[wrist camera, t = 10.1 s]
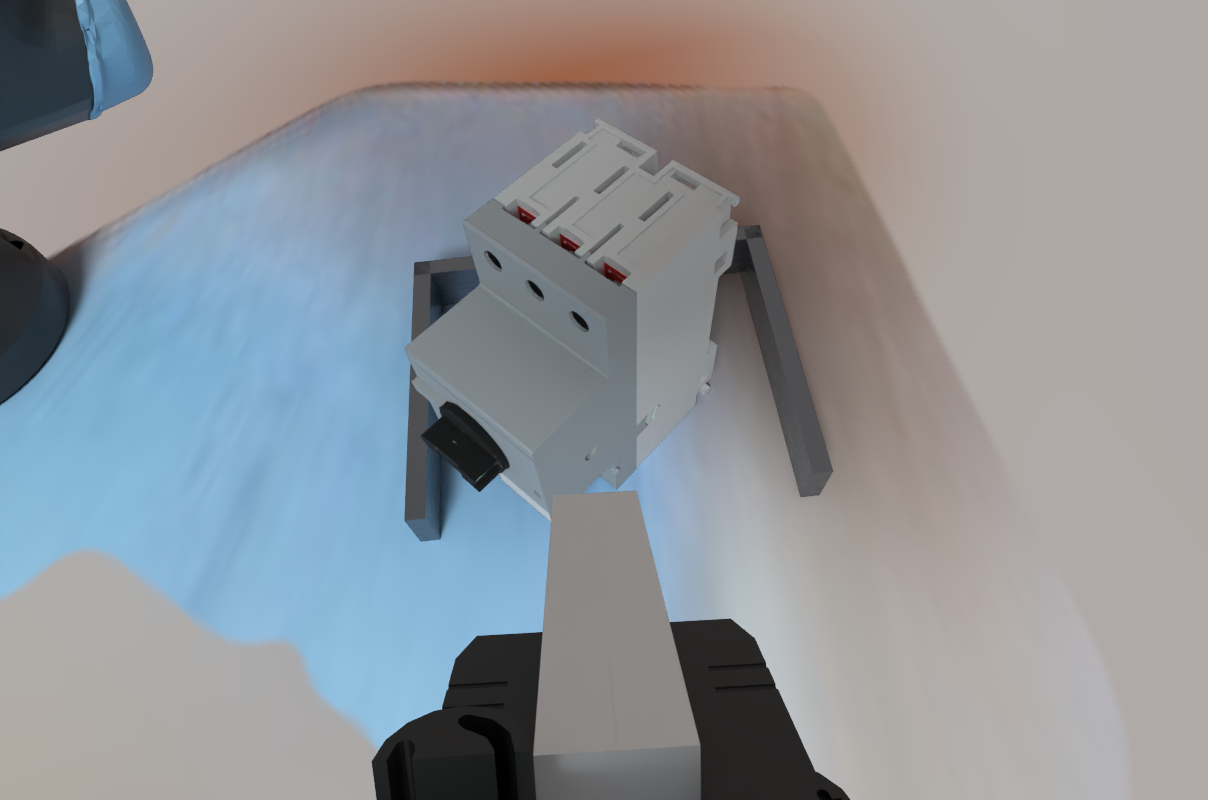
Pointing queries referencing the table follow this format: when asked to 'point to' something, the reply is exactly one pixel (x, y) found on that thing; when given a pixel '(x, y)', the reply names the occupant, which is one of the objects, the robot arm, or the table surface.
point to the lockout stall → (778, 348)
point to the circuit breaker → (578, 320)
